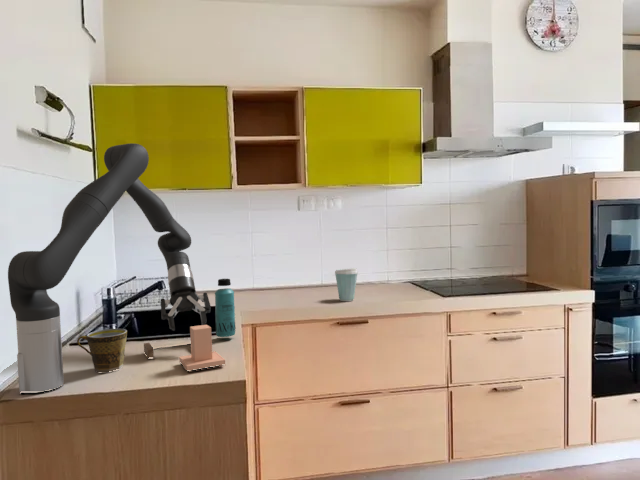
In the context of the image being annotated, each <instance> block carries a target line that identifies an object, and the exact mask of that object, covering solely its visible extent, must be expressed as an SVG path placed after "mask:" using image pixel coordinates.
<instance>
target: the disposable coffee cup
mask: <svg viewBox="0 0 640 480" xmlns="http://www.w3.org/2000/svg"><path fill="white" fill-rule="evenodd" d="M358 273H359V271H358V269H357V268H356V267H353V268H352V267H350V268H342V269H341V268H340V269H336V270H335V271H334V275H335V278H336V279H335V280H336V286H337V293H338V299H339V301H340V302H354V299H355V294H356V288H357V286H356V285H357V280H358V279H357V278H358Z"/></svg>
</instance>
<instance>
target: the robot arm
mask: <svg viewBox="0 0 640 480" xmlns="http://www.w3.org/2000/svg"><path fill="white" fill-rule="evenodd" d="M103 161H104V165H105V167H106V170H107V172H106V173H104V174H102V175H101V176H100V177H98V178H96V179H95V180H92V181H91V182H90V183H89V184H87V185H85V186H84V187H83V188H82V189H80V190H79V191H78V192H77V193H76V195H75V196H74V197H73V198H72V199H71V200H70V201H69V203H68V204H67V205H66V206H65V208H64V210H63V213H62V217H61V225H60V230H59V231H58V233H57V234H56V235H55V237H54V238H53V239H52V240H51V241H50V243H48V245H46V247H44V248H43V249H42V250H25V251H21V252H18V253H17V254H15V255H14V256H13V257H12V258H11V259H10V262H9V264H8V268H7V269H8V270H7V281H8V289H9V291H8V292H9V299H10V305H11V308H12V310H13V311H14V313H15V324H16V325H15V326H16V338H17V339H16V340H17V354H16V358H17V359H16V360H17V374H18V376H17V377H18V393H19V392H21V391H45V390H49V389H54V388H57V387H59V386H61V385H63V383H64V384H65V380H64V378H65V376H64V375H65V374H64V362H63V360H64V359H63V345H62V330H61V329H62V328H61V308H60V305H59V304H58V302H56V301H55V300H53V299H52V298H51V297H50V296H49V294H48V291H47V290H52V289H54V288H55V287H57V286H58V285H60V283H61V282H62V281H63V279H64V278H65V277H66V275H67V273H68V271H69V270H70V269H71V267H72V265H73V263H74V262H75V260H76V258H77V257H78V255H79V253H80V252H81V250H82V248H83V247H84V246H85V244H86V243H88V241H89V239H90V238H91V237H92V235H93V234H94V232H95V231H96V230H97V229H98V227H100V225H102V223H103V222H104V220H105V219H106V218H107V217H108V215H109V214H110V212H111V211H112V209H113V207H114V206H115V205H116V204H117V203H118V201H119V200H120V199H121V198H122V197H123V196H124V194H125V193H127V194H128V195H129V197H131V199H132V200H133V201H134V202H135V203H136V205H137V206H138V208H139V209H140V210H141V212H142V213H143V214H144V216H145V218H146V219H147V222H148V223H149V224H150V225H151V228H152V229H153V230H154V231H155V232H157V233H164V234H162V235H160V236H159V237H158V240H157V246H158V248H159V250H160V252H161V254H162V255H163V257H164V260H165V265H166V268H167V281H168V283H167V284H168V288H169V294H170V297H169V298H170V299H165V298H160V311H161V313H160V314H161V320H163V321H165V320H167V321H168V325H169V327H168V328H169V329H170V330H171V331H172V332H175V331H176V326H175V319H174V318H175V317H176V316H177V314H178V313H179V312H180V313H184V312H188V311H189V312H190V311H192V310H193V311H194V312H196V313H198V314H199V315H200V321H201V325H207V314H210V313H211V308H212V307H211V303H210V300H209V296H208V292H203V293H202V294H197V292H196V286H195V280H194V276H193V271H192V269H191V264H190V258H189V255H188V254H187V253H186V252H184V250H187V249H189V248H190V247H191V245H192V238H191V235H190V233H189V232H188V231H187V229H185V228H184V227H183V226H182V225H181V224H180V223H179V222H178V221H177V220H176V219H175V218H174V217H173V215H172V213H171V212H170V210H169V209H168V207H167V205H166V204H165V202H164V201H163V200H162V199H161V197H159V196H158V195H157V194H156V193H154V191H152V190H151V189H150V188H148V187H147V186H146V185H144V183H143V182H142V181H141V180H140V177H141V176H142V175H143V173H144V172H145V171H146V169H147V168H148V164H149V153H148V151H147V149H146V148H145V147H144V146H143V145H142V144H139V143H124V144H118V145H113V146H110V147H108V148H107V149H106V150H105V152H104V155H103ZM199 301H201V302H202V303H203V304H204V307H203V306H202V305H201V303H199ZM169 305H170V306H172V307H171V309H170V311H169V312H168V313H167V312H166V311H167V310H166V308H168V307H169ZM63 386H64V385H63Z"/></svg>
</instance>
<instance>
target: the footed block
mask: <svg viewBox="0 0 640 480" xmlns="http://www.w3.org/2000/svg"><path fill="white" fill-rule="evenodd" d="M189 334H190V341H191V345H190V354H189V355H180V356H179V357H178V358H179V361H178V362H179V363H180V362H181V363H182V365H183V366H184V367H185V368H186V369H185V368H184V367H183V366H182V365H181V366H182V367H183V368H184V369H185V370H193V369H199V368H205V367H210V366H216V365H222V364H225V365H226V359H225V358H224V357H222V355H220V354H219V353H218V352H217V351H215V350H214V351H213V344H212V343H213V342H212V341H213V340H212V339H213V338H212V327H211V326H210V325H208V324H205V325H202V324H201V325H194V326H192V325H191V326H189ZM181 363H180V364H181Z"/></svg>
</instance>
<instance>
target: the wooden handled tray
mask: <svg viewBox="0 0 640 480" xmlns="http://www.w3.org/2000/svg"><path fill="white" fill-rule="evenodd" d="M144 352H145V354H146V355H147V357H148V358H149V357H154V358H155V353H154V350H153V347H152V345H151V343H150V342H145V343H143V353H144ZM145 354H144V355H145ZM147 357H146V358H147Z"/></svg>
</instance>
